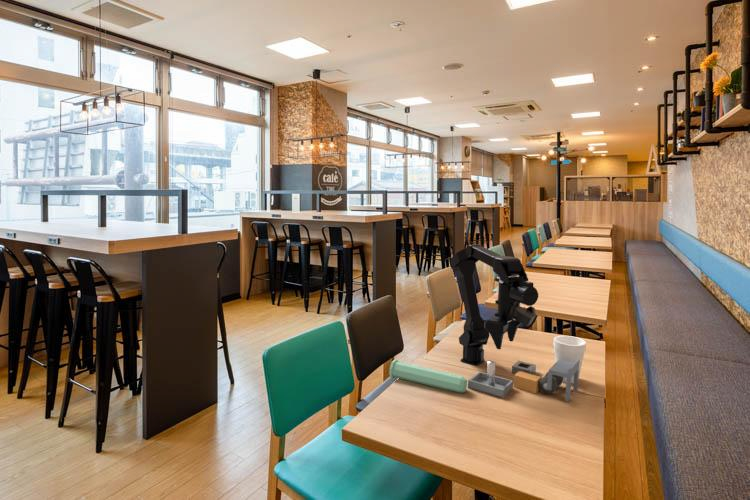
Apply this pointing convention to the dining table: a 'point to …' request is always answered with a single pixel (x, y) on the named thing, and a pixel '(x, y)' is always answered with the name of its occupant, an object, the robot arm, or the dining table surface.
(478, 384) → the tray
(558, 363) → the grey wheeled cart
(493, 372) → the pin
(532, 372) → the pin bracket
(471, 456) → the dining table surface
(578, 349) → the foam cup
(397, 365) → the container
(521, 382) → the block
